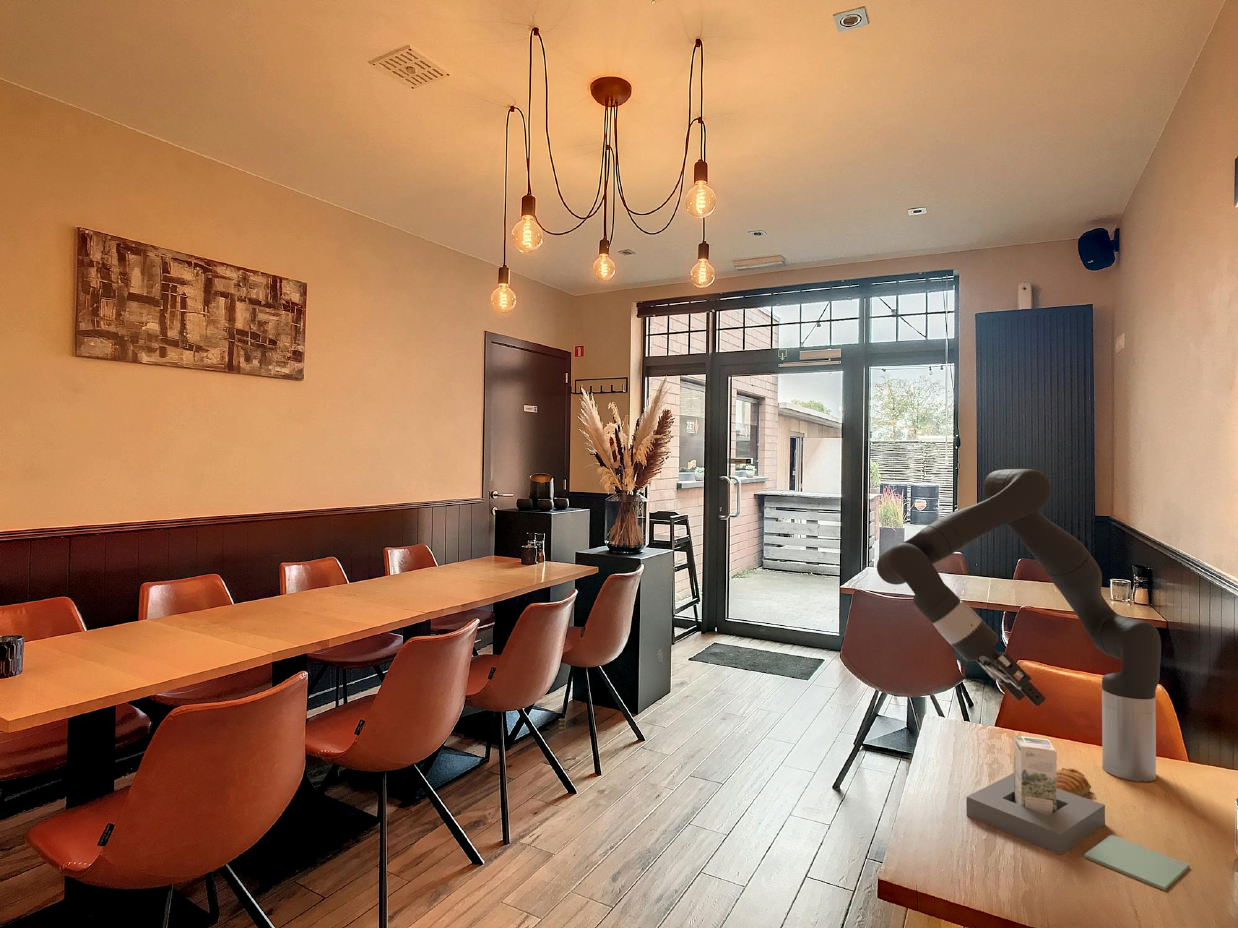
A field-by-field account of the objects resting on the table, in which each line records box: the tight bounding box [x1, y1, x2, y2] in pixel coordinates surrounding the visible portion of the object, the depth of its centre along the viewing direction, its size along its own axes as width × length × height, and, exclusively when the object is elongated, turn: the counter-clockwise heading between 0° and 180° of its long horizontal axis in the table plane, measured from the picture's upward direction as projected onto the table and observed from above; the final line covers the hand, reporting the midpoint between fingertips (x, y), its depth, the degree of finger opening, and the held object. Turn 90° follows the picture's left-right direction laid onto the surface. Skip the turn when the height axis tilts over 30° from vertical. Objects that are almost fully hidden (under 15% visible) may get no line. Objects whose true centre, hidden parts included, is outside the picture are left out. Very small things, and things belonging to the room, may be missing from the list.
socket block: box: [966, 772, 1106, 856], centre depth 126 cm, size 18×16×4 cm
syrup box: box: [1013, 735, 1058, 816], centre depth 126 cm, size 6×6×14 cm
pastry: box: [1056, 767, 1092, 797], centre depth 137 cm, size 9×7×4 cm
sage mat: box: [1083, 834, 1190, 891], centre depth 112 cm, size 11×11×1 cm
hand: (1031, 699), depth 125 cm, fingers open, 8 cm apart
